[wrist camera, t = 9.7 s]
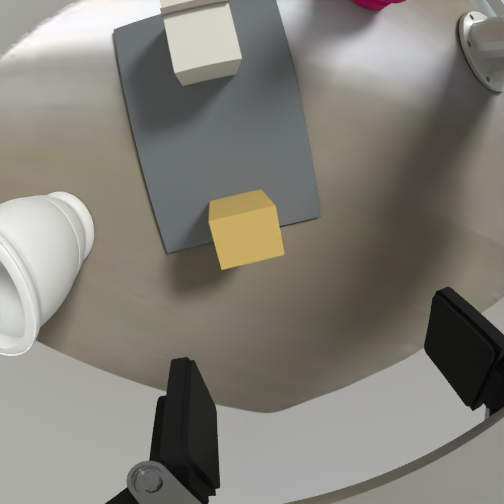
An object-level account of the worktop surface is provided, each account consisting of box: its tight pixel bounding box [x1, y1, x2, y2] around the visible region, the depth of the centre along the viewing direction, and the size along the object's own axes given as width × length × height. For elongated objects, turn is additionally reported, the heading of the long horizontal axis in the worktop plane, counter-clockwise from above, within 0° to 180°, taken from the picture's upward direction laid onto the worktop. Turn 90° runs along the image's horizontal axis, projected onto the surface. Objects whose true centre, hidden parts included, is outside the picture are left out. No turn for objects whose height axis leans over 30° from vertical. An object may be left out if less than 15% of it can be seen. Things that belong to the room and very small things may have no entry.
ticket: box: [160, 0, 242, 86], centre depth 19 cm, size 5×7×6 cm
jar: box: [0, 192, 94, 356], centre depth 21 cm, size 11×10×15 cm
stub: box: [209, 189, 284, 270], centre depth 26 cm, size 5×4×7 cm
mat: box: [114, 0, 321, 253], centre depth 25 cm, size 16×24×1 cm, turn 12°
